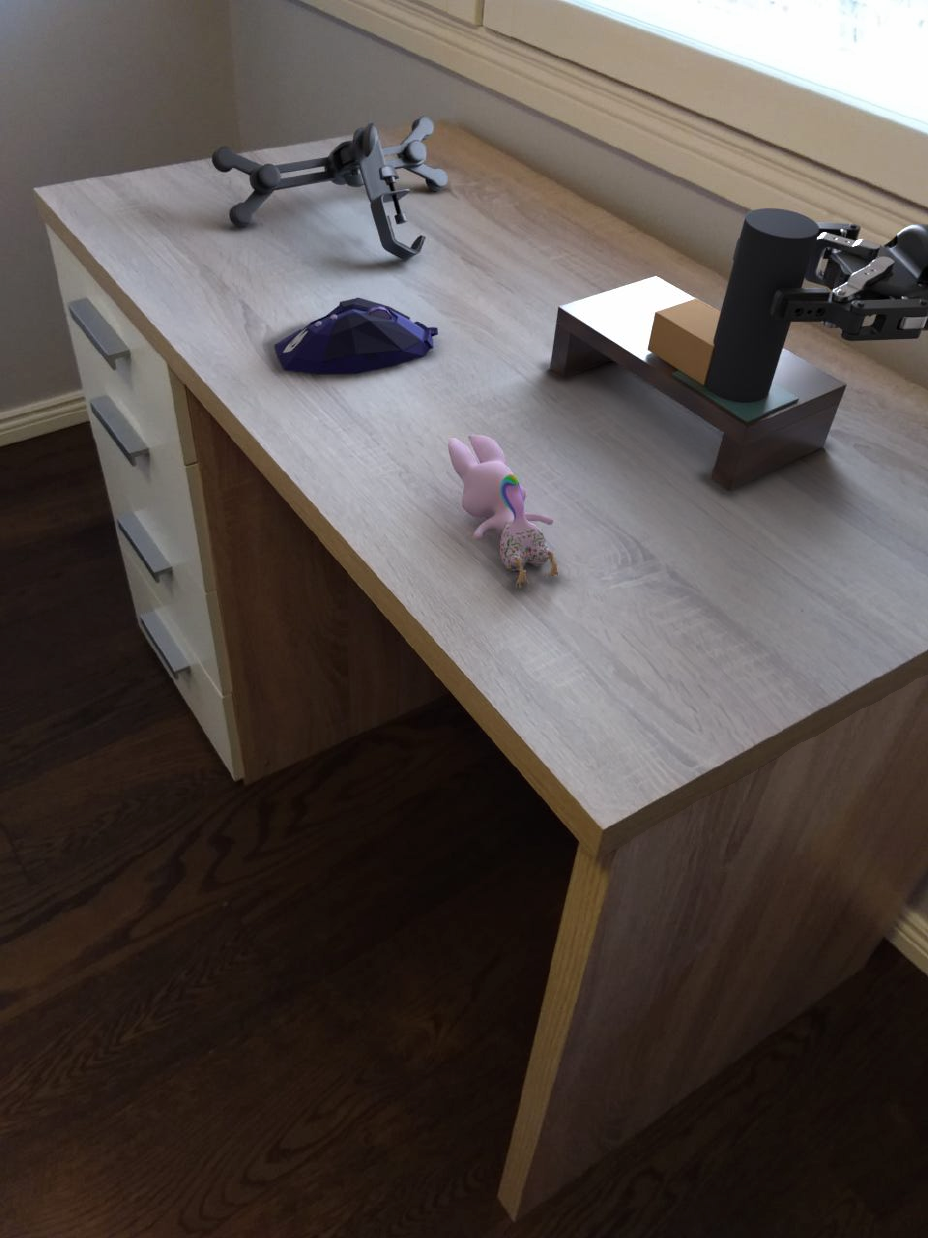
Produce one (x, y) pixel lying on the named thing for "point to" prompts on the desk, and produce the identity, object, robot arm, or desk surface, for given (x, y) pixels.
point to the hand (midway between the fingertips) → (754, 277)
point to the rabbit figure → (500, 504)
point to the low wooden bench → (751, 429)
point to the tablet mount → (346, 177)
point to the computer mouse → (355, 340)
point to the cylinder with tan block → (740, 310)
